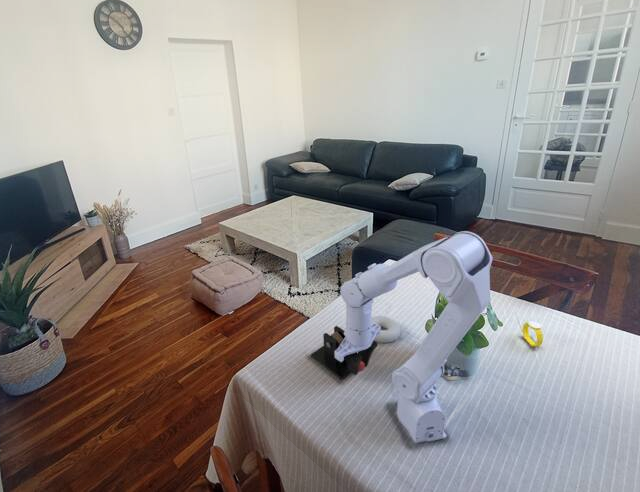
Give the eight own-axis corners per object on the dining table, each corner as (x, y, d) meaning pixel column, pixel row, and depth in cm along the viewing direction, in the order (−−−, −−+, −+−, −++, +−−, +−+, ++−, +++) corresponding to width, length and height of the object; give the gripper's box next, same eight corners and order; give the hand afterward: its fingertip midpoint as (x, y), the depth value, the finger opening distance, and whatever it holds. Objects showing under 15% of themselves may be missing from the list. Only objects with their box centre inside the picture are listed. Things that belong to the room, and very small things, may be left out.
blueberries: (427, 370, 84) (428, 364, 84) (447, 356, 88) (447, 350, 88) (453, 387, 79) (454, 381, 78) (472, 371, 83) (473, 365, 82)
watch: (518, 335, 93) (521, 317, 91) (528, 334, 93) (532, 316, 91) (532, 350, 88) (536, 331, 85) (543, 350, 87) (548, 331, 85)
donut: (404, 345, 93) (396, 322, 102) (404, 336, 92) (396, 313, 101) (367, 345, 94) (362, 322, 104) (367, 336, 93) (362, 313, 102)
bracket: (364, 363, 88) (364, 336, 85) (340, 381, 83) (339, 353, 80) (333, 342, 97) (332, 316, 94) (310, 357, 92) (308, 331, 89)
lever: (365, 369, 84) (369, 363, 82) (356, 376, 82) (360, 370, 80) (335, 335, 90) (338, 329, 88) (326, 341, 88) (329, 334, 86)
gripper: (365, 303, 86) (364, 345, 91) (324, 329, 78) (326, 374, 83) (388, 315, 80) (386, 360, 85) (347, 345, 72) (348, 392, 77)
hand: (358, 368), depth 84 cm, fingers closed on lever, 3 cm apart
